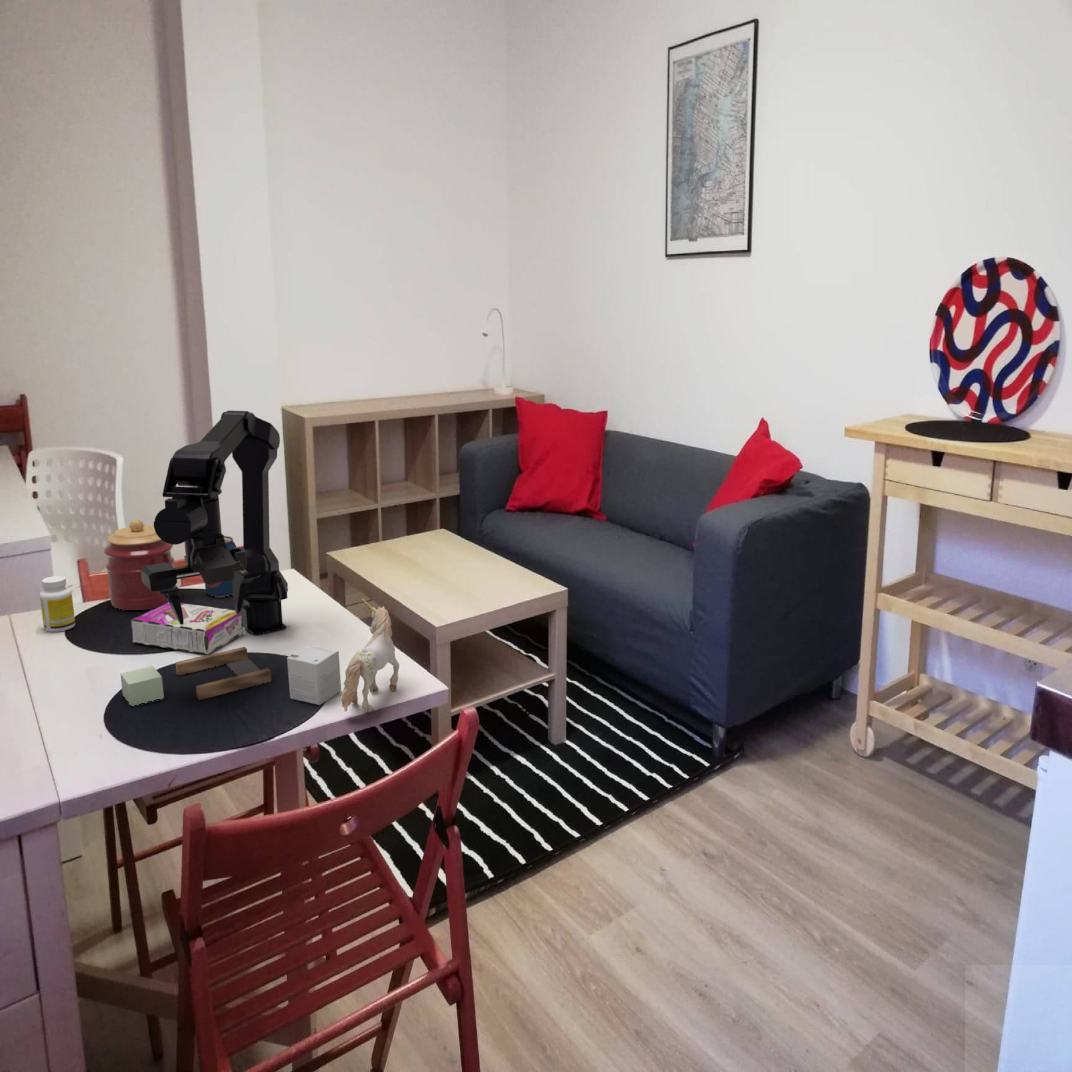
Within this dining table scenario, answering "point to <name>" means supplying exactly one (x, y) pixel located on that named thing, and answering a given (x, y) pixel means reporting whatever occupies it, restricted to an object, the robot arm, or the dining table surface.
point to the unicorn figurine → (371, 661)
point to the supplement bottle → (56, 604)
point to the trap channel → (241, 667)
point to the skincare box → (314, 674)
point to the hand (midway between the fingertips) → (209, 618)
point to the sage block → (142, 685)
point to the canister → (135, 566)
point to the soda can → (226, 586)
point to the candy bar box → (187, 628)
